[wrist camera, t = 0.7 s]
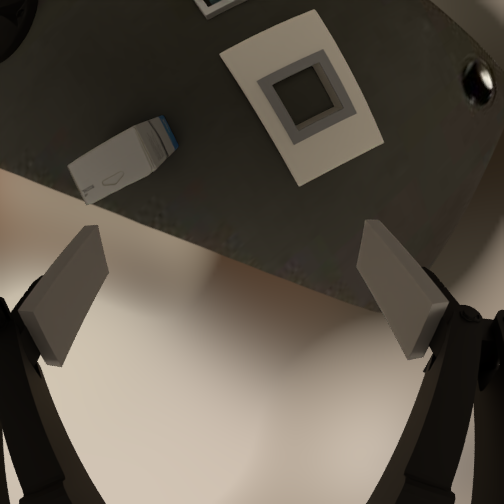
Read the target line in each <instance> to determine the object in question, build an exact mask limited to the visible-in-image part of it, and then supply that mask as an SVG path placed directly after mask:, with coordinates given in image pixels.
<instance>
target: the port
mask: <svg viewBox="0 0 504 504" xmlns="http://www.w3.org/2000/svg"><path fill="white" fill-rule="evenodd" d="M219 55H220V57H221V59H222V60H223V62H224V63H225V65H226V66H227V68H228V69H229V71H230V72H231V74H232V75H233V77H234V78H235V80H236V82H237V83H238V85H239V86H240V88H241V89H242V91H243V93H244V94H245V96H246V97H247V99H248V101H249V102H250V104H251V105H252V107H253V109H254V110H255V112H256V114H257V115H258V117H259V119H260V120H261V122H262V124H263V125H264V127H265V129H266V130H267V132H268V134H269V135H270V137H271V139H272V141H273V142H274V144H275V146H276V147H277V149H278V151H279V153H280V154H281V156H282V158H283V160H284V161H285V163H286V165H287V167H288V169H289V170H290V172H291V174H292V176H293V178H294V179H295V181H296V183H297V184H298V186H299V187H300V186H301V185H303V184H305V183H307V182H309V181H311V180H313V179H315V178H316V177H318V176H320V175H322V174H324V173H326V172H328V171H330V170H332V169H334V168H335V167H337V166H339V165H341V164H343V163H345V162H347V161H349V160H351V159H353V158H355V157H357V156H359V155H361V154H363V153H365V152H367V151H369V150H370V149H372V148H374V147H376V146H378V145H380V144H382V143H384V141H383V139H382V136H381V134H380V132H379V129H378V127H377V125H376V122H375V120H374V118H373V116H372V113H371V111H370V109H369V107H368V105H367V102H366V100H365V98H364V96H363V94H362V92H361V90H360V88H359V86H358V84H357V82H356V80H355V78H354V76H353V74H352V72H351V70H350V68H349V66H348V65H347V63H346V61H345V59H344V57H343V55H342V54H341V52H340V50H339V48H338V46H337V45H336V43H335V41H334V40H333V38H332V36H331V34H330V33H329V31H328V29H327V28H326V26H325V25H324V23H323V21H322V20H321V18H320V17H319V15H318V13H317V12H316V10H315V9H314V10H311V11H309V12H306V13H304V14H301V15H299V16H296V17H294V18H292V19H289V20H287V21H285V22H282V23H280V24H278V25H275V26H273V27H271V28H269V29H267V30H265V31H263V32H260V33H258V34H256V35H254V36H252V37H250V38H248V39H246V40H244V41H242V42H240V43H239V44H237V45H235V46H233V47H231V48H229V49H227V50H226V51H224V52H222V53H220V54H219ZM310 66H313V68H314V70H315V72H316V73H317V75H318V77H319V79H320V81H321V82H322V84H323V86H324V88H325V90H326V92H327V94H328V95H329V97H330V99H331V101H332V103H333V105H334V107H332V108H330V109H328V110H326V111H324V112H322V113H320V114H318V115H316V116H314V117H312V118H310V119H308V120H306V121H304V122H302V123H300V124H298V125H296V126H295V124H294V122H293V121H292V119H291V117H290V115H289V113H288V112H287V110H286V108H285V106H284V105H283V103H282V101H281V100H280V98H279V96H278V95H277V93H276V91H275V89H274V88H273V86H272V85H273V84H275V83H277V82H279V81H281V80H283V79H285V78H287V77H289V76H291V75H293V74H295V73H297V72H299V71H301V70H303V69H306V68H308V67H310Z"/></svg>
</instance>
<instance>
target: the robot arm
mask: <svg viewBox="0 0 504 504" xmlns="http://www.w3.org/2000/svg"><path fill="white" fill-rule="evenodd" d="M36 7H37V0H0V63H1V62H2V61H4V60H5V59H6V58H8V57H9V56H10V55H11V54H12V53H13V52H14V51H15V50H16V49H17V47H18V46H19V45H20V43H21V42H22V40H23V39H24V37H25V36H26V34H27V32H28V30H29V28H30V26H31V24H32V21H33V18H34V15H35V12H36ZM357 269H358V271H359V272H360V274H361V276H362V278H363V279H364V281H365V283H366V284H367V286H368V288H369V290H370V291H371V293H372V295H373V297H374V298H375V300H376V302H377V304H378V306H379V307H380V309H381V311H382V313H383V314H384V316H385V318H386V320H387V322H388V324H389V326H390V327H391V329H392V331H393V333H394V335H395V337H396V339H397V341H398V342H399V344H400V346H401V348H402V350H403V352H404V354H405V356H406V358H407V360H411V359H416V358H421V357H423V356H424V355H425V353H426V351H427V349H428V347H430V348H431V350H432V352H433V354H432V356H431V358H430V360H429V361H428V363H427V365H426V367H425V369H424V371H423V372H425V376H424V379H423V382H422V384H421V387H420V390H419V393H418V396H417V398H416V401H415V404H414V406H413V409H412V411H411V414H410V417H409V419H408V421H407V424H406V426H405V428H404V431H403V433H402V436H401V438H400V440H399V442H398V445H397V447H396V449H395V451H394V453H393V455H392V457H391V460H390V461H389V463H388V465H387V467H386V469H385V471H384V473H383V475H382V477H381V479H380V481H379V482H378V484H377V486H376V488H375V490H374V492H373V493H372V495H371V497H370V498H369V500H368V502H367V503H366V504H454V502H455V494H454V493H453V492H452V491H451V486H452V482H453V479H454V476H455V473H456V470H457V467H458V464H459V461H460V457H461V454H462V450H463V447H464V443H465V438H466V434H467V431H468V427H469V422H470V418H471V413H472V408H473V403H474V422H475V457H474V458H475V459H474V478H473V490H472V501H471V504H504V310H500V311H498V313H497V314H496V316H495V319H494V320H491V319H483V318H482V316H481V315H480V313H479V312H478V311H477V310H475V309H474V308H472V307H470V306H467V305H459V303H458V302H457V301H456V300H455V298H454V297H453V296H452V295H451V294H450V292H449V291H448V290H447V288H446V287H444V285H443V284H442V282H440V281H439V279H438V278H437V276H436V275H435V274H434V273H433V272H431V271H430V270H428V269H427V268H425V267H421V266H420V265H419V264H418V263H417V262H416V261H415V259H414V258H413V257H412V256H411V255H410V254H409V253H408V251H407V250H406V249H405V248H404V247H403V246H402V245H401V243H400V242H399V241H398V240H397V239H396V238H395V237H394V236H393V235H392V234H391V232H390V231H389V230H388V229H387V228H386V227H385V226H384V225H383V224H382V223H381V222H380V221H379V220H365V224H364V230H363V235H362V241H361V246H360V252H359V257H358V262H357ZM108 273H109V271H108V267H107V263H106V259H105V255H104V251H103V246H102V242H101V238H100V233H99V228H98V225H91V226H84V227H83V228H82V230H81V231H80V232H79V233H78V234H77V235H76V236H75V238H74V239H73V240H72V241H71V242H70V244H69V245H68V246H67V247H66V248H65V249H64V250H63V252H62V253H61V254H60V256H59V257H58V258H57V259H56V260H55V261H54V263H53V264H52V265H51V266H50V268H49V269H48V270H47V272H46V273H45V274H44V275H43V276H40V277H39V278H38V279H37V280H35V281H34V282H33V283H32V284H31V286H30V287H29V289H28V291H26V292H25V294H24V296H23V297H22V298H21V299H20V301H19V302H18V303H17V305H16V306H15V307H14V309H13V310H12V312H10V311H9V308H8V306H7V304H6V302H5V300H4V298H2V297H0V504H10V500H9V495H8V488H7V482H6V473H5V463H4V452H3V433H2V429H3V432H4V436H5V440H6V443H7V446H8V450H9V453H10V456H11V460H12V463H13V465H14V468H15V471H16V474H17V477H18V480H19V482H20V485H21V487H22V490H23V493H24V497H22V498H21V499H20V500H19V504H106V503H105V502H104V500H103V499H102V497H101V495H100V494H99V492H98V491H97V489H96V487H95V486H94V484H93V482H92V481H91V479H90V477H89V475H88V473H87V472H86V470H85V468H84V466H83V464H82V463H81V461H80V459H79V457H78V455H77V453H76V451H75V449H74V447H73V445H72V443H71V441H70V439H69V437H68V435H67V433H66V431H65V428H64V426H63V424H62V421H61V419H60V417H59V415H58V412H57V410H56V407H55V405H54V403H53V400H52V397H51V395H50V393H49V389H48V387H47V384H46V381H45V378H44V375H43V373H42V370H41V367H40V365H39V364H38V362H37V361H38V359H39V356H40V355H41V356H42V358H43V359H44V361H45V362H46V364H47V365H52V366H58V367H62V365H63V363H64V361H65V359H66V356H67V354H68V352H69V350H70V347H71V345H72V343H73V341H74V339H75V337H76V335H77V332H78V331H79V329H80V327H81V325H82V322H83V320H84V318H85V316H86V314H87V313H88V310H89V309H90V307H91V305H92V303H93V301H94V299H95V297H96V295H97V293H98V291H99V290H100V288H101V286H102V284H103V282H104V280H105V279H106V276H107V275H108Z"/></svg>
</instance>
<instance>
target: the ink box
mask: <svg viewBox="0 0 504 504" xmlns="http://www.w3.org/2000/svg"><path fill="white" fill-rule="evenodd" d="M178 147H179V146H178V143H177V141H176V139H175V137H174V135H173V133H172V131H171V129H170V127H169V125H168V123H167V121H166V119H165V117H164V116H163V115H161V116H159V117H156V118H153V119H150V120H148V121H145V122H142V123H140V124H137V125H135V126H132V127H131V128H129V129H127V130H125V131H123V132H121V133H120V134H118V135H116V136H114V137H112V138H111V139H109V140H107V141H105V142H104V143H102V144H100V145H99V146H97V147H95V148H94V149H92V150H90V151H89V152H87V153H85V154H84V155H82V156H81V157H79V158H78V159H76V160H75V161H73V162H72V163H70V164H69V165H68V166H67V167H68V169H69V172H70V174H71V176H72V178H73V180H74V182H75V184H76V186H77V188H78V190H79V192H80V194H81V196H82V198H83V200H84V201H85V204H86V205H89V204H93V203H95V202H96V201H98V200H100V199H102V198H104V197H106V196H108V195H109V194H111V193H113V192H116V191H118V190H120V189H122V188H123V187H125V186H127V185H129V184H132V183H134V182H136V181H138V180H140V179H142V178H144V177H146V176H148V175H150V174H151V172H153V171H155V170H156V169H157V168H158V167H159V166H160V165H161V164H162V163H163V162H164V161H165V160H166V159H167V158H168V157H169V156H170V155H171V154H172V153H173V152H174V151H175V150H176V149H177V148H178Z"/></svg>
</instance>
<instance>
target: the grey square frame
mask: <svg viewBox="0 0 504 504" xmlns="http://www.w3.org/2000/svg"><path fill="white" fill-rule="evenodd" d="M193 1H194V2H195V4H196V5H197V6H198V8H199V9H200V11H201V12H202V13H203V15H204V16H205V17H206V19H207V20H209V19H211V18H213V17H215V16H217V15H218V14H220V13H222V12H224V11H226V10H228V9H230V8H232V7H234V6H236V5H238V4H240V3H242V2H245V1H247V0H221V1H219V2H217V3H216V4H214V5H212V6H210V7H208V6H207V5H206V4H205V2H204V1H203V0H193Z"/></svg>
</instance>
